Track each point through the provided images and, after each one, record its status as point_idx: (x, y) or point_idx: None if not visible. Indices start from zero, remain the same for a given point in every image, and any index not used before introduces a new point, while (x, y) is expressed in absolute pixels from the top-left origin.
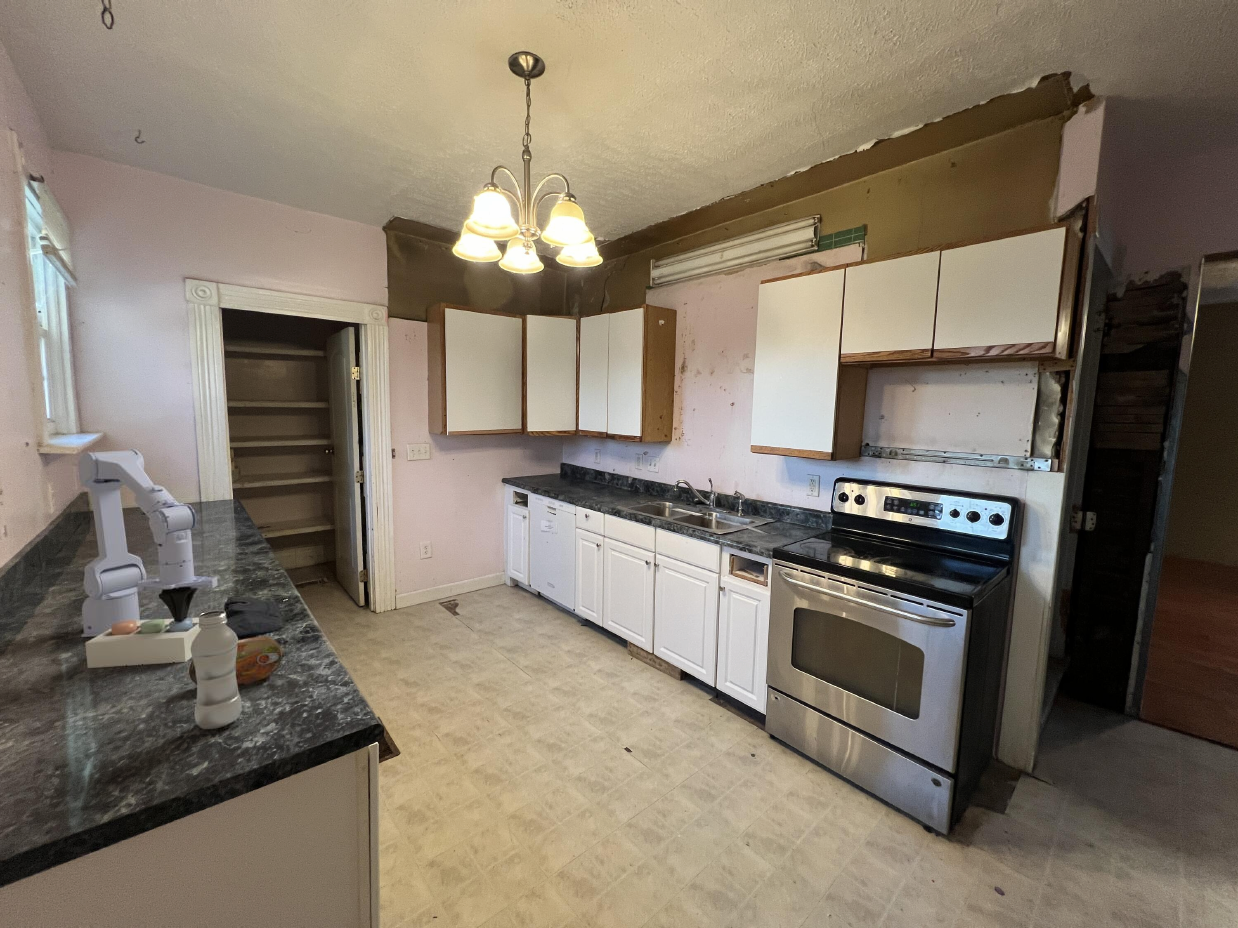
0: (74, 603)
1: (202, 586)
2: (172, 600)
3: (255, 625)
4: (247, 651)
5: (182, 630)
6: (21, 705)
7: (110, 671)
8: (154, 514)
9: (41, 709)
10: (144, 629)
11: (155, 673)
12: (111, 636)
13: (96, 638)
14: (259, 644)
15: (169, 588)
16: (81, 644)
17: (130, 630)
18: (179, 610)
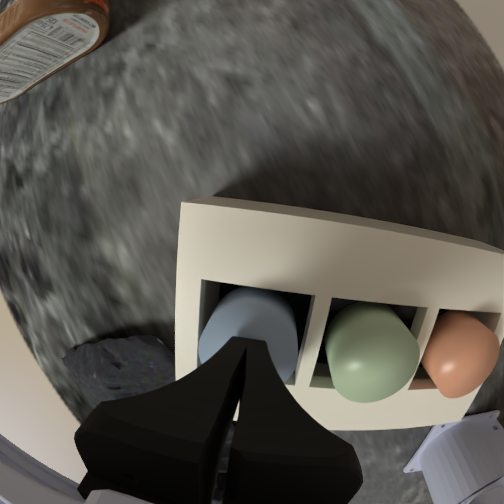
0: None
1: (12, 453)
2: (237, 421)
3: (90, 364)
4: None
5: (229, 299)
6: (492, 67)
7: (419, 190)
8: None
9: (443, 24)
10: (395, 320)
11: (273, 126)
12: (483, 302)
13: None
14: None
15: (110, 495)
16: (499, 381)
17: (442, 338)
18: (214, 363)
